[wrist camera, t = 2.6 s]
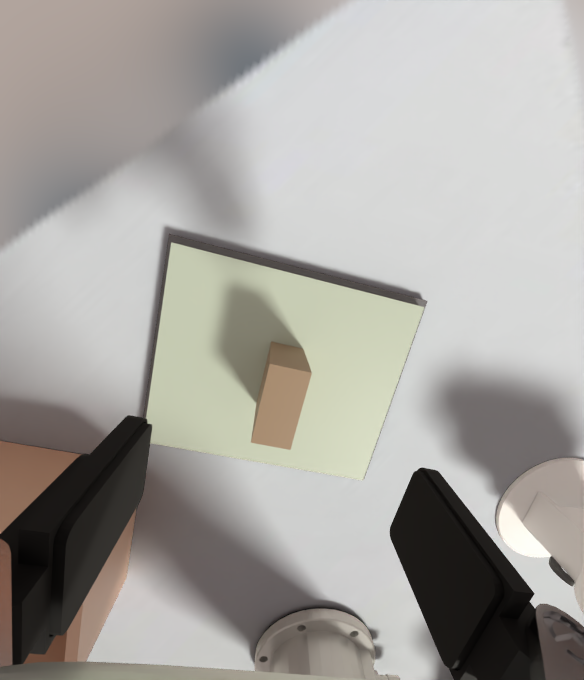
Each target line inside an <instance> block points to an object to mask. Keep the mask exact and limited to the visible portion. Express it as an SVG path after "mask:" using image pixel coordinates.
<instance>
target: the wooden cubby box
mask: <svg viewBox="0 0 584 680" xmlns="http://www.w3.org/2000/svg"><path fill="white" fill-rule="evenodd" d="M80 455H82V454H76V453H70V452H64V451H58V450H52V449H46V448H40V447H34V446H28V445H22V444H16V443H10V442H4V441H0V534H1V533H2V532H3V531H4V530H5V529H6V528H7V527H8V526H9V525H10V524H11V523H12V522H13V521H14V520H15V519H16V518H17V517H18V516H19V515H20V514H21V513H22V512H23V511H24V510H25V509H26V508H27V507H28V506H29V505H30V504H31V503H32V502H33V501H34V500H35V499H36V498H37V497H38V496H39V495H40V494H41V493H42V492H43V491H44V490H45V489H46V488H47V487H48V486H49V485H50V484H51V483H52V482H53V481H54V480H55V479H56V478H57V477H58V476H59V475H60V474H61V473H62V472H63V471H64V470H65V469H66V468H67V467H68V466H69V465H70V464H71V463H72V462H73V461H74V460H75V459H76V458H78V457H79V456H80ZM136 509H137V508H136ZM136 509H135V511H134V513H133V515H132V516H131V518H130V520H129V522H128V524H127V525H126V527H125V529H124V531H123V533H122V534H121V536H120V538H119V540H118V541H117V543H116V545H115V547H114V549H113V550H112V552H111V554H110V556H109V557H108V559H107V561H106V563H105V565H104V566H103V568H102V570H101V572H100V573H99V575H98V577H97V579H96V581H95V582H94V584H93V586H92V588H91V589H90V591H89V593H88V595H87V597H86V598H85V600H84V602H83V604H82V605H81V607H80V609H79V611H78V613H77V614H76V616H75V618H74V620H73V621H72V623H71V625H70V627H69V628H68V630H67V631H66V633H65V634H64V635H63V636H60V635H56V636H55V638H54V640H53V642H52V643H51V645H50V647H49V648H48V650H47V652H46V654H45V655H42V654H29V655H28V657H27V659H26V660H25V662H24V663H23V664H27V663H36V662H86V661H87V659H88V656H89V654H90V652H91V650H92V648H93V646H94V644H95V642H96V640H97V638H98V636H99V634H100V632H101V630H102V628H103V626H104V623H105V621H106V619H107V617H108V615H109V613H110V611H111V609H112V607H113V605H114V603H115V601H116V599H117V597H118V595H119V592H120V590H121V588H122V586H123V584H124V582H125V580H126V578H127V571H128V564H129V557H130V550H131V543H132V537H133V530H134V523H135V516H136Z"/></svg>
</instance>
